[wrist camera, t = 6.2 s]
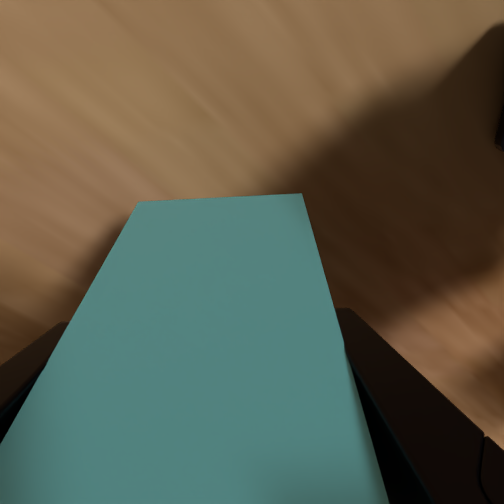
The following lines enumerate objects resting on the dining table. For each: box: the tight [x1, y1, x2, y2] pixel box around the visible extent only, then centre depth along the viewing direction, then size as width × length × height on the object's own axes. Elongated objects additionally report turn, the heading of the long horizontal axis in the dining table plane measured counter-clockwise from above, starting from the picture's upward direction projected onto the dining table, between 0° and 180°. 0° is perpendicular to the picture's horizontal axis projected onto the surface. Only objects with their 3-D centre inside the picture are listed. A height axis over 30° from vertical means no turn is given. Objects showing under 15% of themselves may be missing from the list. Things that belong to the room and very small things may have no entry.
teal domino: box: [0, 193, 389, 504], centre depth 8 cm, size 5×2×10 cm, turn 93°
